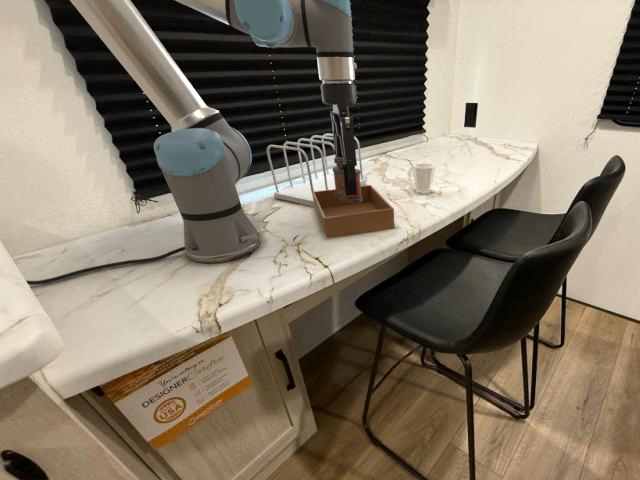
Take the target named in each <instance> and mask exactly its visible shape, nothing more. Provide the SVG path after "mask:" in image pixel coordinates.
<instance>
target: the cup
mask: <svg viewBox="0 0 640 480" xmlns="http://www.w3.org/2000/svg"><path fill="white" fill-rule="evenodd" d="M435 170H436V165H435V164H433V163H428V162H420V163H415V164H413V165H412V166H411V167H410V169H409V172H408V180H409V182H410V184H411V186H412V187H413V188H414V189H415V190H416V193H417V194H420V195H426V194H429V193H431V190H430V189H431V188H432V185H433V180H434V176H435ZM412 172H413V178H412ZM413 179H414V181H413Z"/></svg>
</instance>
